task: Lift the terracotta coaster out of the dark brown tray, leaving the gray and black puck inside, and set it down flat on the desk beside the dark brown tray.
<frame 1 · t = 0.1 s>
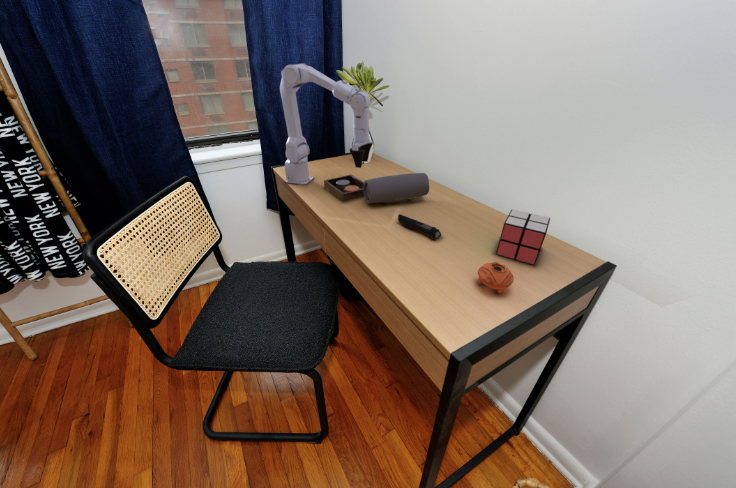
hand: (361, 164, 120), 10 cm above the table, tool pointing down, fingers open, 7 cm apart
electric trimmer: (417, 231, 97), on the table
pot: (492, 286, 74), on the table
dark brown tray: (347, 191, 123), on the table
bluetooth speaker: (395, 201, 115), on the table
puzzle cube: (517, 251, 87), on the table
terracotta coaster: (352, 193, 120), resting on dark brown tray
gray and black puck: (343, 187, 126), resting on dark brown tray
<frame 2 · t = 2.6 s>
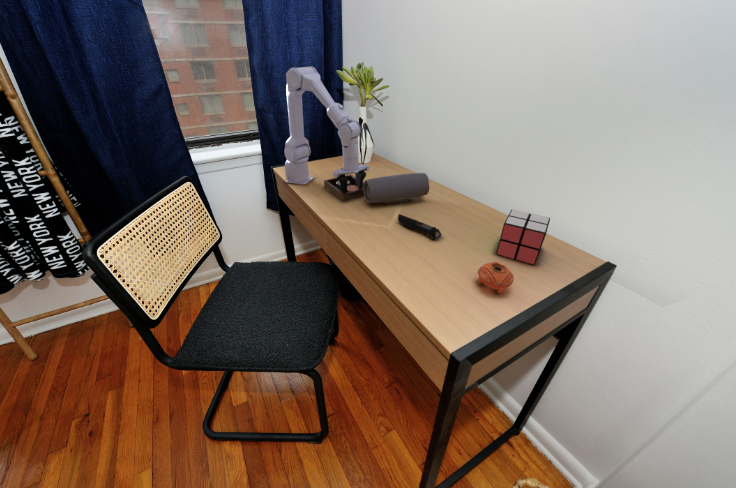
hand: (351, 191, 120), 1 cm above the table, tool pointing down, fingers closed on terracotta coaster, 5 cm apart
terracotta coaster: (352, 193, 120), resting on dark brown tray, touching gripper
everything else where it was.
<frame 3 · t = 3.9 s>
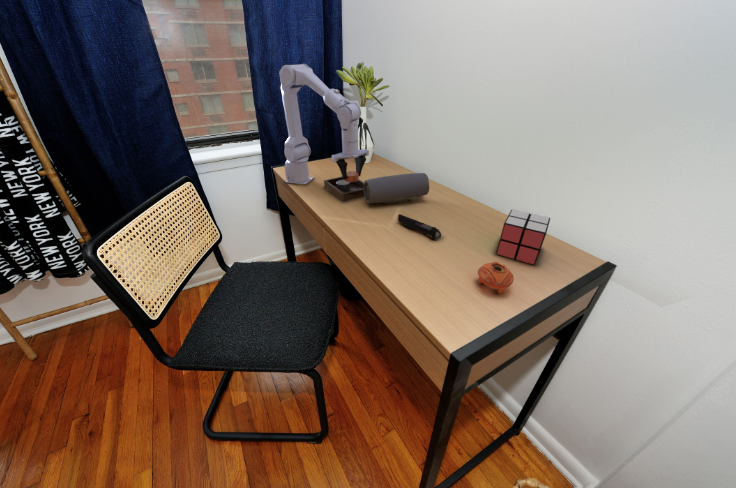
hand: (351, 177, 117), 7 cm above the table, tool pointing down, fingers closed on terracotta coaster, 5 cm apart
terracotta coaster: (351, 179, 118), point 6 cm above the table, touching gripper
everything else where it was.
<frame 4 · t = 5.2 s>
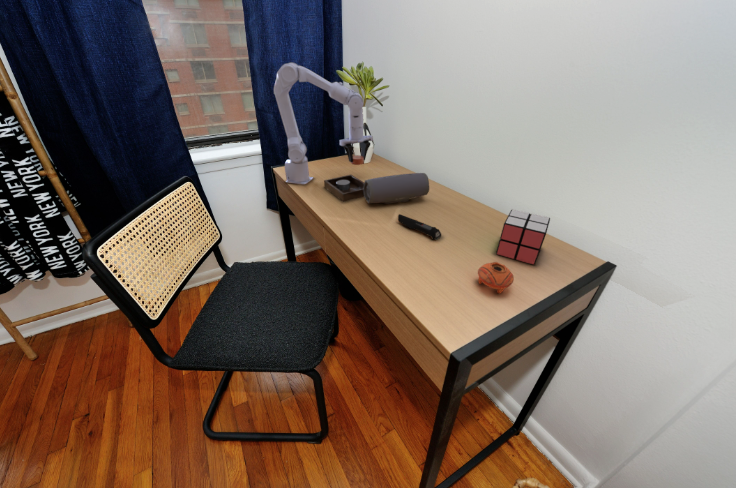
hand: (357, 160, 130), 8 cm above the table, tool pointing down, fingers closed on terracotta coaster, 5 cm apart
terracotta coaster: (357, 162, 130), point 7 cm above the table, touching gripper
everything else where it was.
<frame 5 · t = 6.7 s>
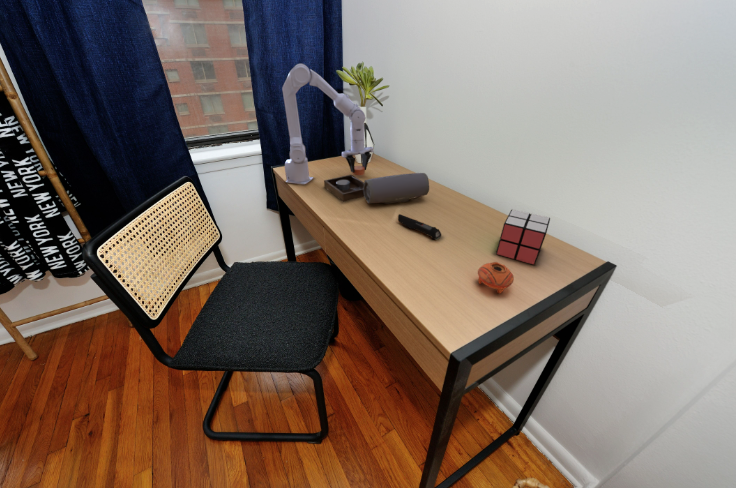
hand: (358, 170, 136), 3 cm above the table, tool pointing down, fingers closed on terracotta coaster, 5 cm apart
terracotta coaster: (358, 173, 136), point 2 cm above the table, touching gripper
everything else where it was.
when the fingers open (1 cm above the table, at t = 7.8 s): terracotta coaster stays where it is, on the table.
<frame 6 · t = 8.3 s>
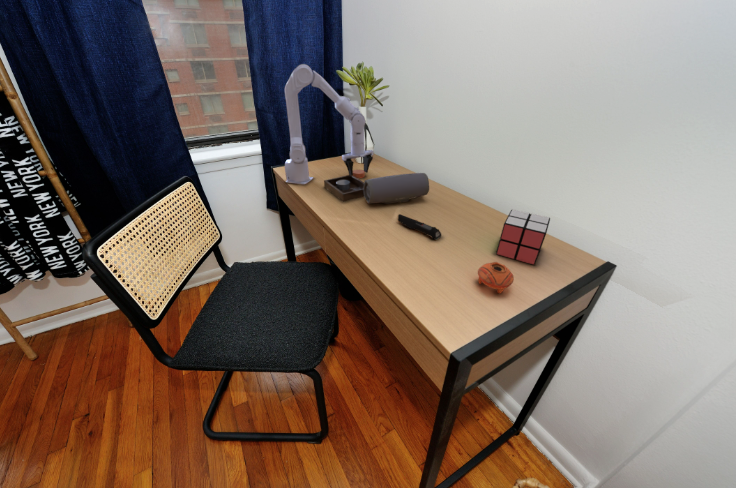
hand: (358, 173, 136), 1 cm above the table, tool pointing down, fingers open, 7 cm apart
terracotta coaster: (358, 176, 137), on the table
everything else where it was.
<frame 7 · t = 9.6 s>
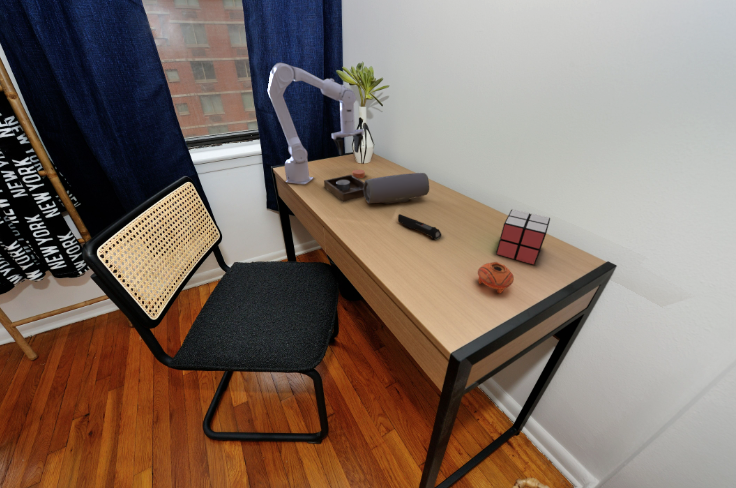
hand: (348, 153, 135), 9 cm above the table, tool pointing down, fingers open, 7 cm apart
nothing on the table moved.
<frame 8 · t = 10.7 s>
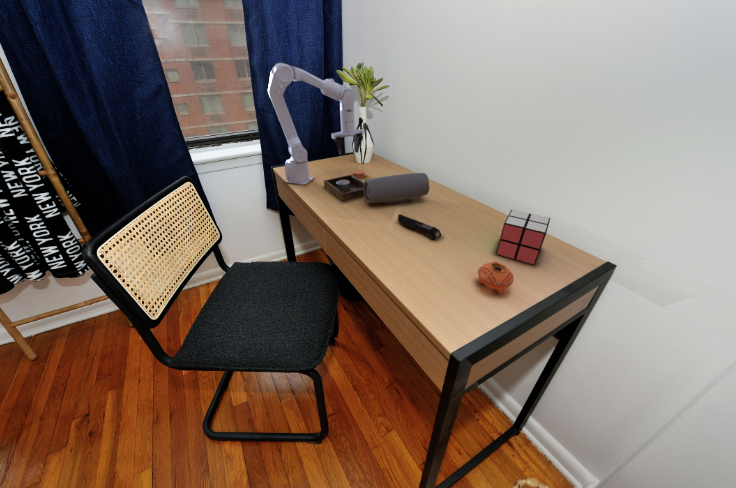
hand: (348, 153, 135), 9 cm above the table, tool pointing down, fingers open, 7 cm apart
nothing on the table moved.
at the end: terracotta coaster 0.1 cm from the target spot, on the table; terracotta coaster touching table; gray and black puck inside the target area in the dark brown tray (3.6 cm from its centre), point 0.4 cm above the dark brown tray's base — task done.
